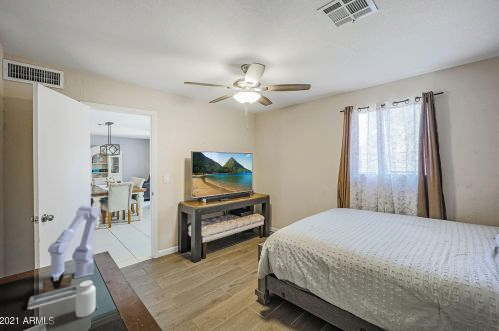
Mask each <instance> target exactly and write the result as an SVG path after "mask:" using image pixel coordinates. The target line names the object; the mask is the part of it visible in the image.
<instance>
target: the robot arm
mask: <svg viewBox="0 0 499 331" xmlns="http://www.w3.org/2000/svg"><path fill="white" fill-rule="evenodd" d="M99 211H100V209H99V208H98V206H89V205H88V206H87V205H80V206H79V207H78V209H77V210H76V212H75V213H76V215H75V216H74V218H73V219H72V222H71V224H70V225H69V226H68V228H66V229H65V230H64V229H63V230H62V232H61V234H60V235H59V236H58V238H57V239H56V240H55V241H54V242H53V243H51V244H50V245H49V246H48V249H47V251H48V253H49V255H50V271H48V272H47V275H48V276H51V277H49V279H50V281H51V282H52V283H53V286H54V289H58V288H60V284H61V281H62V279H63V277H64V276H65V271H66V269H65V254H66V251H67V250H68V247H69V244H70V241H71V240H72V239H73V238H74V236H75V231H76V229H77V228H78V227H79V225H80V224H82V222H84V220H85V226H84V230H83V231H82V232H83V233H82V237H81V241H80V243H79V245H78V246H76V247H75V249H74V251H73V253H72V255H71V259H72V260H73V261H74V262H75V272H74V275H73V276H74V277H73V279H79V278H82V277H83V278H84V277H88V276H91V275H93V274H94V269H95V267H94V258H93V257H94V247H92V245H91V244H92V239H93V236H94V232H95V228H96V223H97V220H98V216H99V213H100V212H99Z"/></svg>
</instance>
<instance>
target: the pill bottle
mask: <svg viewBox="0 0 499 331" xmlns="http://www.w3.org/2000/svg"><path fill="white" fill-rule="evenodd" d="M78 285H79V284H78ZM96 290H97V289H96V286H95V285H94V284H93V280H90V279H89V280H88V279H87V280H84V281H82V282H81V283H80V285H79V289H78V290H77V292H76V297H75V315H76V317H77V318H84V317H88V316H89V315H91V314H93V313H94V312H95V310H96V299H97V298H96V297H97V296H96V293H97V291H96Z"/></svg>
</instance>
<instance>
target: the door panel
mask: <svg viewBox="0 0 499 331" xmlns="http://www.w3.org/2000/svg"><path fill="white" fill-rule="evenodd" d="M72 277H73V276H72V274H71V273H70V274H67V275H64V277H63V279H62V281H61V284H60V288H58V289H54V286H53V283H52V282H51V281H50V278H49V279H45V280H43V282H42V294H43V293H47V292H51V291H55V290H59V289H63V288H67V287H71V286H72Z"/></svg>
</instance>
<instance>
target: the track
mask: <svg viewBox="0 0 499 331" xmlns="http://www.w3.org/2000/svg"><path fill="white" fill-rule="evenodd" d="M80 284H81V283H80ZM80 284H79V283H78V284H76V285H71V287H67V288H63V289H59V290H55V291H51V292H47V293H43V292H42V293H40V294H36V295H32V296H30V297H29V300H28V303H27V310H28V309H30V310H33V309H36V308H41V307H44V306H48V305H50V304H54V303H59V302H62V301H66V300H68V299H69V300H70V299H73V298H76V292H77V290H78V289H79V285H80Z"/></svg>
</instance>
